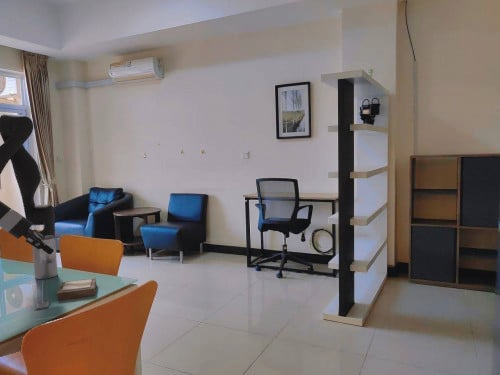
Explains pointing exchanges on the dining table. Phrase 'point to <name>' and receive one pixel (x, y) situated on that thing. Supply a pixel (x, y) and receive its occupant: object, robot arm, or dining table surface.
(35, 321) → the dining table surface
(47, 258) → the housing
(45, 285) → the dining table surface
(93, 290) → the stand
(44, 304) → the bracket plate
